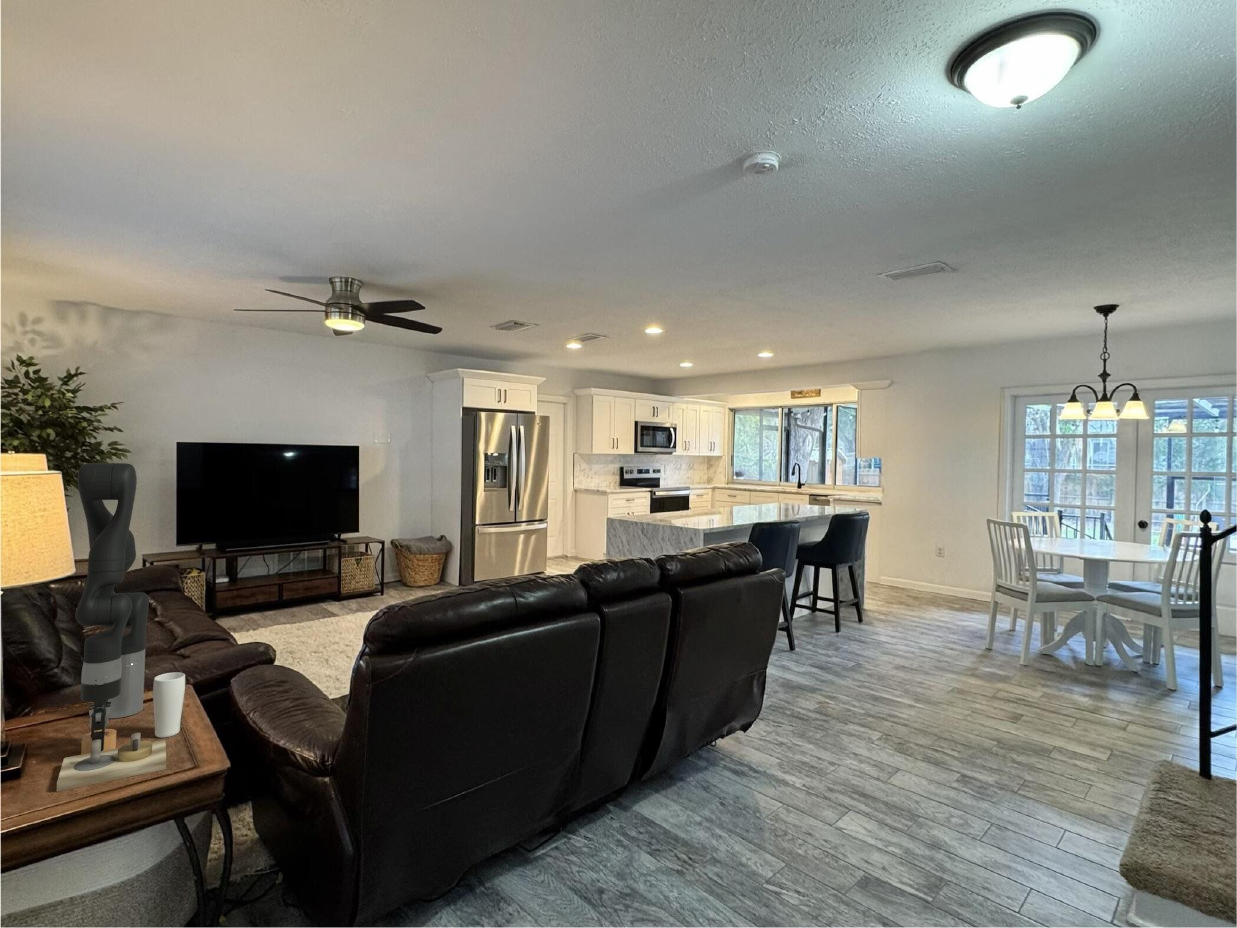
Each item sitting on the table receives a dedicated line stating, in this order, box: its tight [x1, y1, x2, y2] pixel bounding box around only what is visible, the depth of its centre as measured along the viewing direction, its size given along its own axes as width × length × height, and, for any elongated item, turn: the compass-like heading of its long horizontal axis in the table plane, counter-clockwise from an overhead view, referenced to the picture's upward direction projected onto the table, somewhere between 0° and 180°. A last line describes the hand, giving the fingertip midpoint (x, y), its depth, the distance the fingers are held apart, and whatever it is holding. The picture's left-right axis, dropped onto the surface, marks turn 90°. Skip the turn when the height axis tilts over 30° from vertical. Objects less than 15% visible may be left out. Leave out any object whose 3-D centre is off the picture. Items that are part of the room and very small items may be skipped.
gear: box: [80, 728, 117, 755], centre depth 153 cm, size 6×6×4 cm
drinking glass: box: [152, 671, 186, 739], centre depth 163 cm, size 7×7×15 cm
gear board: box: [56, 732, 167, 792], centre depth 145 cm, size 13×19×7 cm
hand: (98, 745), depth 153 cm, fingers closed on gear, 6 cm apart
